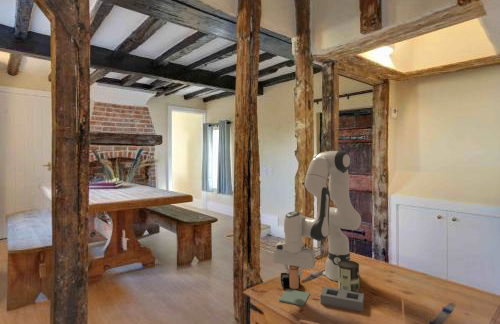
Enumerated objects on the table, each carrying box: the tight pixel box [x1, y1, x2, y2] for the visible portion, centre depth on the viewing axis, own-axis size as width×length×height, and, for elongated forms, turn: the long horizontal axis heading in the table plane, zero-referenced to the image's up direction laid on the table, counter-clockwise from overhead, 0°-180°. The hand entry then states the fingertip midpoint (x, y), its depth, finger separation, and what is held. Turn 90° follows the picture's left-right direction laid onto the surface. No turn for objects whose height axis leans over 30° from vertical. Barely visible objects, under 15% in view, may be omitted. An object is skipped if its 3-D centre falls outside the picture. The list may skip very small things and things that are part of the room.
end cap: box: [280, 272, 302, 290], centre depth 154 cm, size 10×7×7 cm
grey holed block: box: [319, 286, 365, 313], centre depth 133 cm, size 9×18×5 cm, turn 64°
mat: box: [278, 289, 311, 307], centre depth 141 cm, size 12×12×1 cm
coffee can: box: [337, 260, 360, 293], centre depth 146 cm, size 10×10×14 cm
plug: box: [288, 265, 300, 290], centre depth 140 cm, size 4×4×10 cm
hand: (294, 274), depth 140 cm, fingers closed on plug, 4 cm apart
